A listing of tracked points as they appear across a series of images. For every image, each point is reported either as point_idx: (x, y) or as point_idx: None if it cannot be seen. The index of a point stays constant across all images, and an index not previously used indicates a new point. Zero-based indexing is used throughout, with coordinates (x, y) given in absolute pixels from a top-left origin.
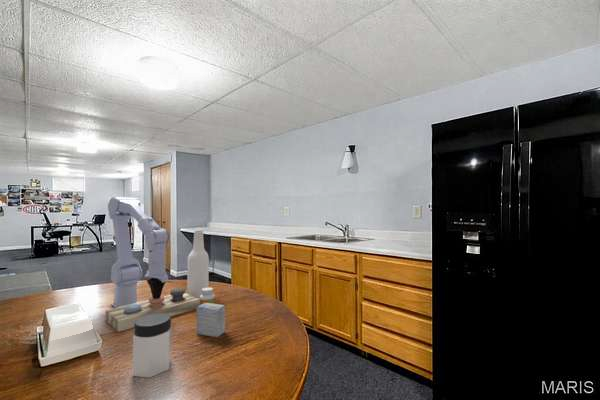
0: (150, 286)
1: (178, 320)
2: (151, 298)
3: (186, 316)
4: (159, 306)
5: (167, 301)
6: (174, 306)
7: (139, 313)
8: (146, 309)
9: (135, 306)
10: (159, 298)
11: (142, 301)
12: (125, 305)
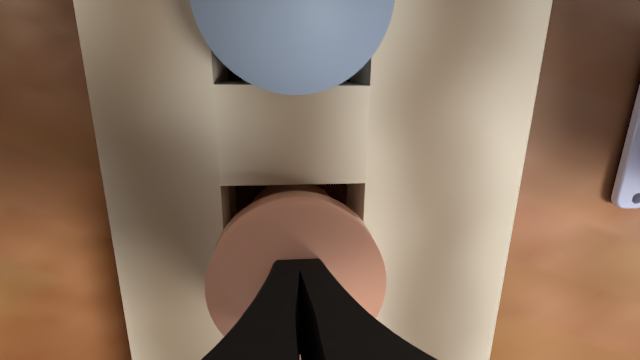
0: (362, 349)
1: (23, 280)
2: (334, 244)
3: (70, 347)
4: None
5: None
6: (132, 348)
7: (140, 20)
8: (224, 128)
9: (274, 17)
10: None
11: (514, 190)
12: (548, 13)
